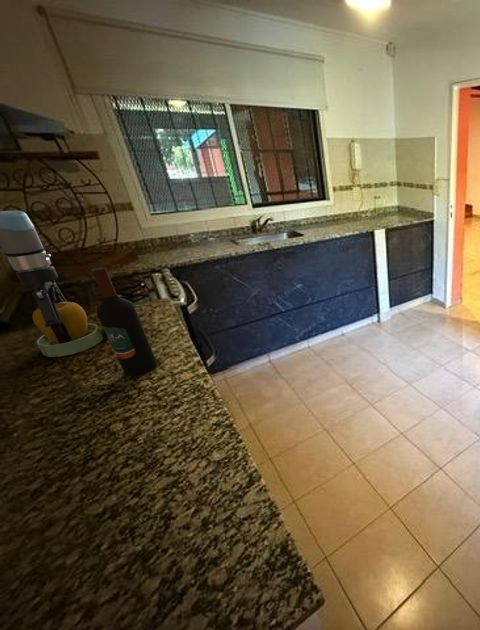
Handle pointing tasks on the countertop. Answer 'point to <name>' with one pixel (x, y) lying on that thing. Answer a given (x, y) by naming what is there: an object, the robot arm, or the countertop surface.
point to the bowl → (71, 343)
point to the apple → (64, 321)
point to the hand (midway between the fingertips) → (69, 335)
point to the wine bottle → (123, 328)
